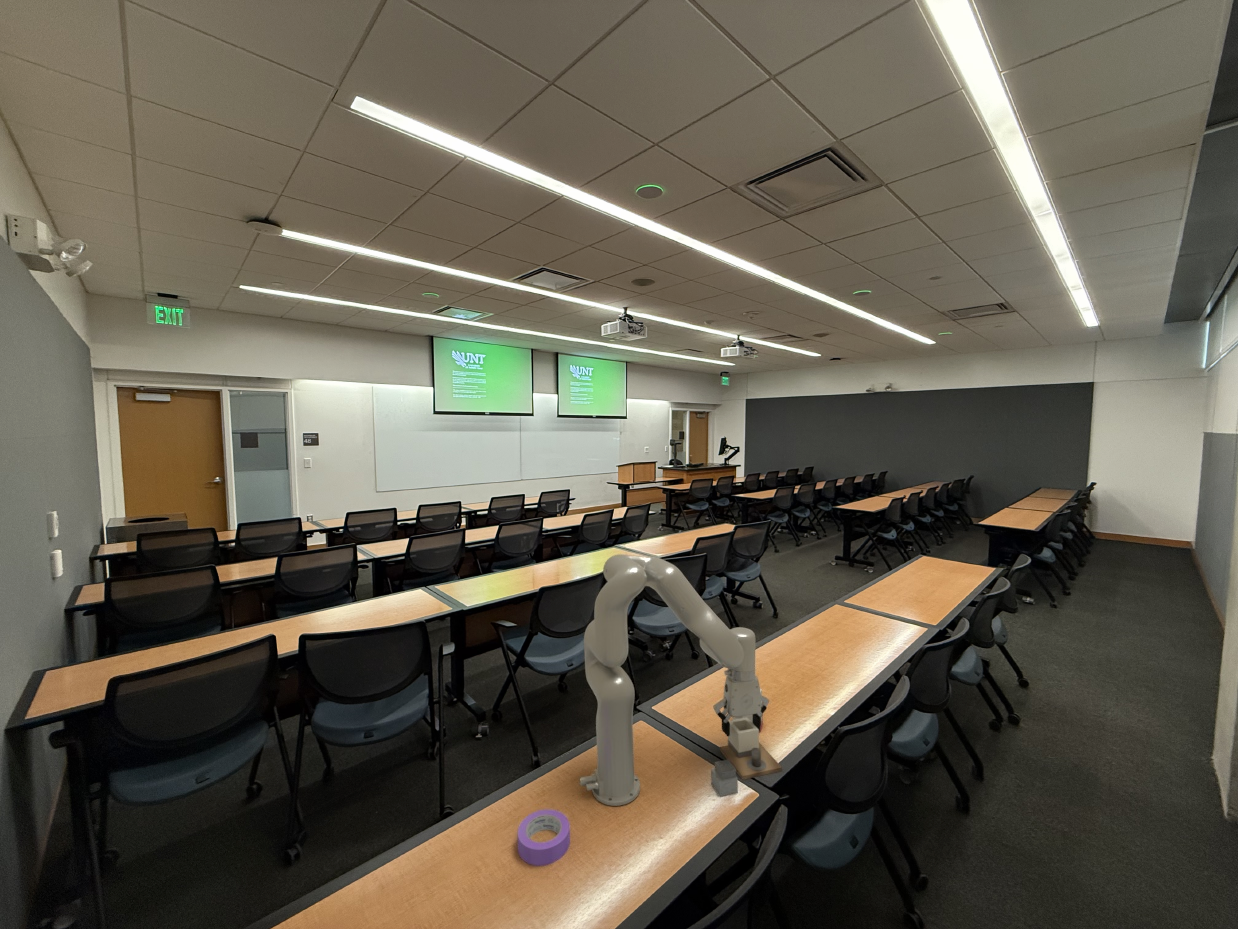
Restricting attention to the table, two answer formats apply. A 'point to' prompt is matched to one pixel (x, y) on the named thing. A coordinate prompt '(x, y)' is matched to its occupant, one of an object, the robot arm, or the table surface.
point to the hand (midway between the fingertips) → (741, 731)
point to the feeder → (724, 778)
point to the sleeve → (743, 737)
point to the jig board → (743, 766)
